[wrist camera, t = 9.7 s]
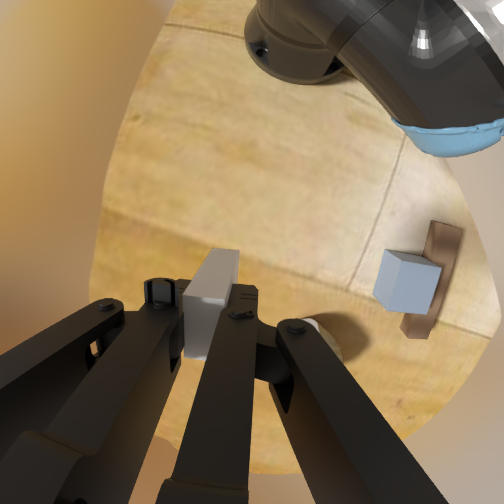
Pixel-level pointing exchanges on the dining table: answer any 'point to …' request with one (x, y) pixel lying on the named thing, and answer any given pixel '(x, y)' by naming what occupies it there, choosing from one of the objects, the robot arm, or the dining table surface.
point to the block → (406, 282)
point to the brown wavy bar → (442, 254)
